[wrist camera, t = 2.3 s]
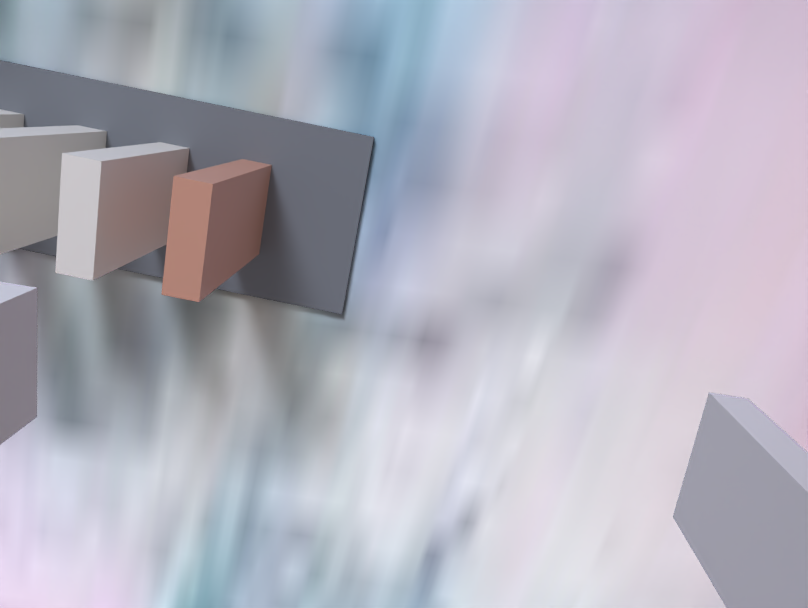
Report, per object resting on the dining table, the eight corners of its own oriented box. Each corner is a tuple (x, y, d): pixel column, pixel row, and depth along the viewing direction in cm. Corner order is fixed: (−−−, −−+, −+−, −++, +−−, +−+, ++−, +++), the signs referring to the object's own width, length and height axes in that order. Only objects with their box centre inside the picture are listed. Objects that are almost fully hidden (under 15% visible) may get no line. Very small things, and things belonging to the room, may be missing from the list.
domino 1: (72, 215, 38) (-52, 251, 29) (77, 125, 37) (-50, 130, 27) (100, 221, 38) (-14, 259, 29) (106, 131, 37) (-11, 138, 27)
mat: (-173, 208, 39) (-177, 208, 39) (-180, 23, 36) (-185, 22, 36) (342, 312, 39) (341, 314, 39) (374, 137, 37) (373, 137, 36)
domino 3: (231, 248, 38) (161, 294, 29) (242, 158, 37) (173, 175, 27) (259, 253, 38) (199, 302, 29) (271, 164, 37) (212, 183, 27)
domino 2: (151, 232, 38) (55, 272, 29) (160, 142, 37) (62, 153, 27) (179, 237, 38) (93, 280, 29) (189, 148, 37) (101, 161, 27)
